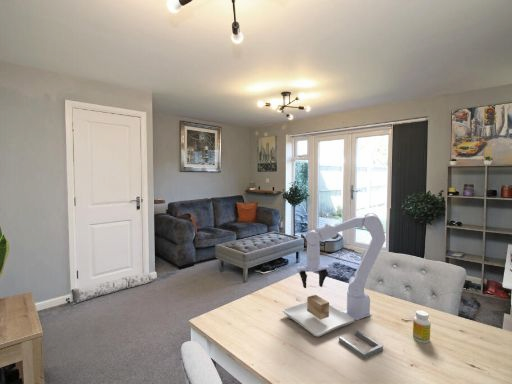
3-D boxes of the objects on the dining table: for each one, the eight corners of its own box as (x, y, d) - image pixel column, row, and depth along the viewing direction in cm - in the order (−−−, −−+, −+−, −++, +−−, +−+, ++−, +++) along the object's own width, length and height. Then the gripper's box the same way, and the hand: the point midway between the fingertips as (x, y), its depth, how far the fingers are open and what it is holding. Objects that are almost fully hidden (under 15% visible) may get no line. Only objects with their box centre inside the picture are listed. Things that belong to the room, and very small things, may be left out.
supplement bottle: (424, 344, 98) (425, 318, 97) (409, 336, 102) (410, 311, 102) (433, 340, 100) (434, 314, 99) (418, 332, 105) (419, 308, 104)
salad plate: (355, 326, 110) (356, 318, 110) (316, 343, 99) (316, 334, 98) (317, 305, 128) (317, 297, 128) (281, 317, 117) (281, 309, 116)
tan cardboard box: (315, 308, 118) (315, 294, 117) (328, 316, 111) (329, 302, 110) (307, 310, 115) (307, 296, 115) (320, 319, 108) (320, 304, 108)
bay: (357, 333, 104) (357, 330, 104) (382, 350, 94) (383, 345, 94) (338, 341, 99) (338, 337, 99) (364, 359, 90) (364, 354, 90)
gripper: (300, 260, 118) (300, 291, 119) (332, 259, 121) (331, 289, 122) (295, 256, 125) (295, 285, 126) (325, 254, 128) (325, 283, 129)
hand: (312, 286), depth 124 cm, fingers open, 7 cm apart
